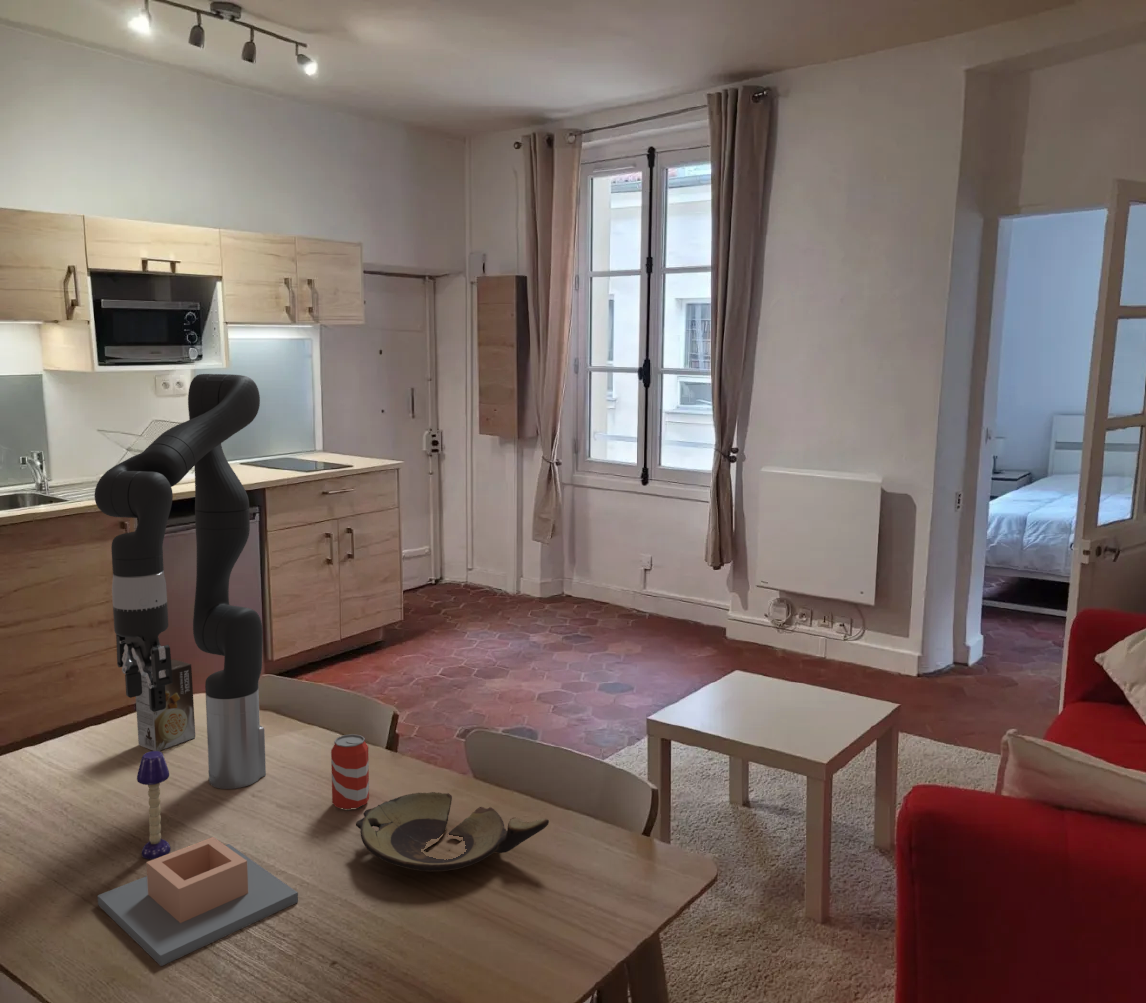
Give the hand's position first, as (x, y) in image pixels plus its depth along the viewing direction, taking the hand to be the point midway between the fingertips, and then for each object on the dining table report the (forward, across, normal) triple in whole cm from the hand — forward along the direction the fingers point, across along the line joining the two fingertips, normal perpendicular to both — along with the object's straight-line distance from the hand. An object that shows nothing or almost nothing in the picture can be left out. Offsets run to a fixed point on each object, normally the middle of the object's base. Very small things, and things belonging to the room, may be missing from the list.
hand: (145, 702), depth 143 cm
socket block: (+25, -18, +2) cm, 31 cm away
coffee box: (+25, +42, -21) cm, 53 cm away
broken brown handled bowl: (+26, -34, -32) cm, 53 cm away
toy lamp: (+25, 0, 0) cm, 25 cm away
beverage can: (+25, -8, -31) cm, 41 cm away
